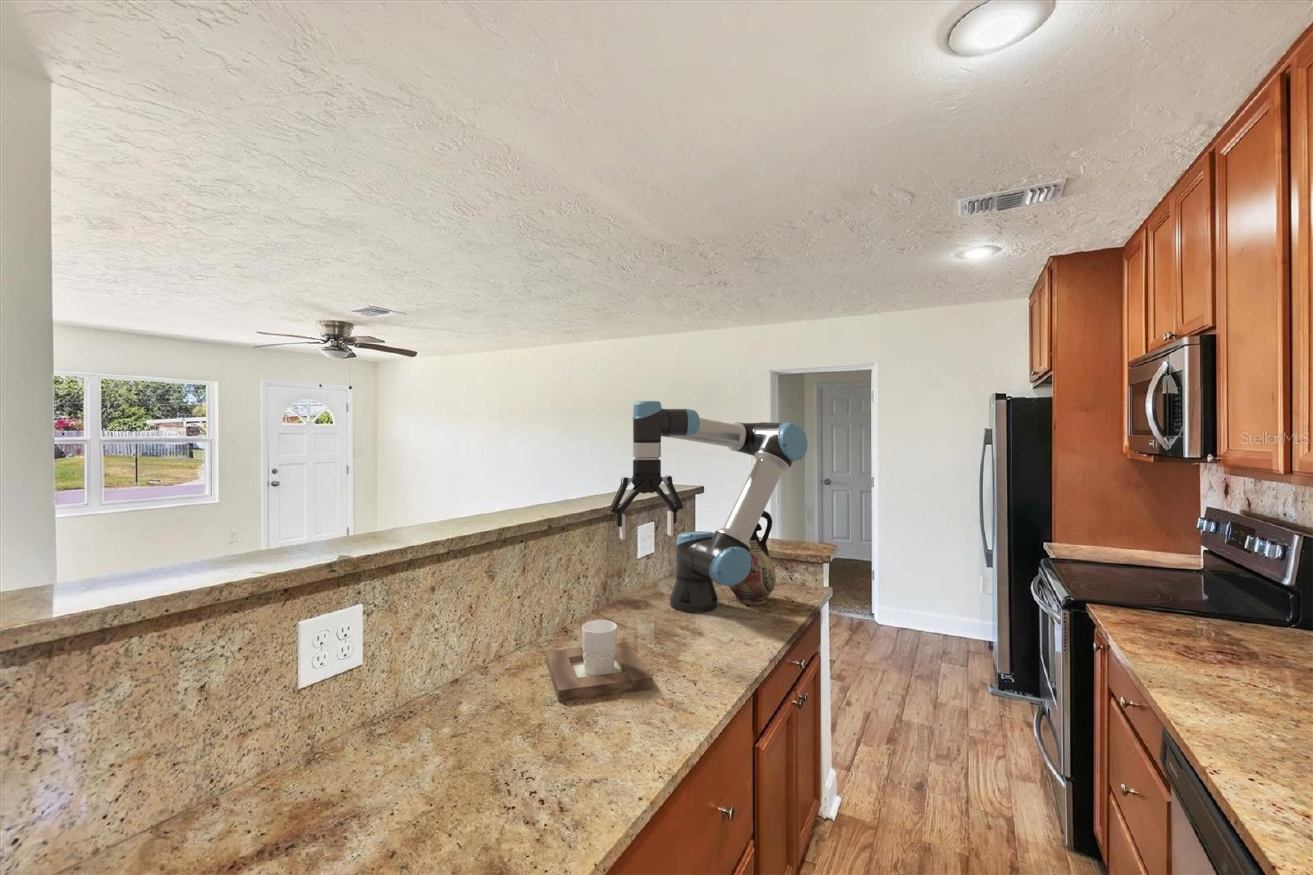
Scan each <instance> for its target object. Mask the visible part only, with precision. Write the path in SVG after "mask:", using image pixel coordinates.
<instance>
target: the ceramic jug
mask: <svg viewBox="0 0 1313 875" xmlns="http://www.w3.org/2000/svg"><path fill="white" fill-rule="evenodd" d="M761 518H762V519H763V518H764V519H765V520H766V527H765V531H764V534H763V536H762V538H761V540H760V538H759V536H758V531H759V532H760V531H763V528H762V525H761V524H760V523H759V522H758V524H757V526H756V528H755V530H754V532H753V534H752V536H751V538H750V540H749V544H750V546H751V550H750V552H749V554H750V557H751V561H750V563H751V569H750V572H749V574H748V576H747V577H746V578H745V579H744V580H743V581H742V582H741V583H739V584H737V585H734V586H728V587H729V588H730V590H731V592H732V593H733V595H734V596H735V597H736V598H735V599H736V601H737V602H738V603H739V604H742V605H748V606H759V605H763V604H765V603H767V601H768V600H767V598H768V597H769V596H770V595H771V593H772V592H773V591H774V590H775V586H776V582H777V578H776V577H777V576H776V570H775V566H774V564H773V561H772V559H771V557H770V554H769V549H768V544H767V541H768V539H769V536H770V533H771V530H772V527H773V518H772V516H771V514H770V513H769V512H768V511H766V510H764V511H763V513H762V515H761Z"/></svg>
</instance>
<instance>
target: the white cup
mask: <svg viewBox="0 0 1313 875" xmlns="http://www.w3.org/2000/svg"><path fill="white" fill-rule="evenodd" d="M617 632H618V625H617V624H616V622H614V621H611V620H605V619H597V620H589V621H588V622H585V623H584V624H582V626H581V635H582V636H581V637H582V639H581V640H582V642H581V643H582V644H581V645H582V647H583V660H584V671H585V673H587V674H588V675H591V676H594V675H602V674H610V673H612V672H613V670H614V659H615V650H616V644H617Z"/></svg>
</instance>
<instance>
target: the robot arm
mask: <svg viewBox="0 0 1313 875" xmlns="http://www.w3.org/2000/svg"><path fill="white" fill-rule="evenodd" d="M632 410H633V411H632V440H633V442H632V457H633V458H634V459H633V461H632V477H626V476H621V480H620V485H619V488H618V490H617V491H616V493H615V496H614V498H613V500H612V502H611V503H610V506H609V509H608V510H609V511H610V512H611V513H613V514H615V518H616V519H615V520H616V523H615V524H616V526H617V527H619V539H621V540H622V541H623V540H624V541H625V540H626V514H624V512H625V511H626V510H627V509H628V507H629V506H630V505H631V503H633V501H634V499H635V498H636V496H639V494H648V493H649V494H654V493H656V495H657V496H658V497H659V498H660V499H661V501H663V503H664V504H665V505H666V506H667V508H668V509H669V510H667V511H666V512H667V513H666V517H667V518H666V519H667V520H666V522H667V523H666V529H667V530H666V534H667V536H669V537H674V524H677V513H678V512H679V511H680V510H683V508H684V505H683V502H682V501H681V499H680V496H679V495H678V493H677V492H678V491H677V489H676V488H675V486H674V484H673V477H672V475H667V474H666V475H665V476H662V474H661V473H662V472H661V471H662V460H661V458H662V437H663V438H672V439H678V440H684V441H690V442H694V443H695V442H697V443H702V444H703V443H704V444H709V445H714V446H721V447H726V448H728V449H729V450H730V451H731V452H732V451H733V452H737V453H743V454H746V455H749V456H753V457H755V460H756V461H755V464H754V465H753V467H752V469H751V471H750V473H749V475H748V477H747V479H746V482H745V483H744V485H743V487H742V490H741V491H740V493H739V495H738V497H737V499H736V501H735V503H734V505H733V508H731V511H730V513H729V515H728V517H727V519H726V521H725V524H723V527H722V528H720V529H716V530H715V531H714V533H713V532H712V531H702V530H701V531H699V530H698V531H687V532H681V533H679V534H678V535H677V537H676V544H675V547H676V551H675V552H676V556H675V557H676V558H675V562H676V564H675V581H674V585H673V588H672V589H671V590H672V591H671V593H670V596H669V606H671V608H673V609H675V610H677V611H682V612H686V613H687V612H688V613H707V612H711V611H715V610H717V608H718V607H719V598H718V595H717V594H718V593H717V591H716V588H715V585H714V583H715V584H717V585H723V586H726V587H729V586H734V585H737V584H739V583H741V582H742V581H743V580H744V579H745V578H746V577H747V576H748V574H749V572H750V569H751V563H750V561H751V557H750V554H749V552H750V550H751V546H750V544H749V540H750V538H751V536H752V534H753V532H754V530H755V528H756V526H757V524H758V523H759V521H760V519H761V518H762V517H761V515H762V513H763V511H765V509H766V507H767V505H768V502H769V501H770V499H771V496H772V494H773V492H774V491H775V488H776V487H777V484H778V482H779V480H780V478H781V476H782V474H783V473H786V472H789V471H790V469H791V467H792V465H793V462H798V461H799V460H800V461H801V460H802V459H804V457H805V456H806V454H807V452H808V439H807V434H806V432H805V429H803V427H801V425H800V424H798V423H795V422H788V421H784V422H762V421H761V422H739V421H735V422H733V423H730V422H729V423H728V422H722V421H717V420H712V419H708V418H707V419H706V418H703V417H702V418H701V417H700V415H699V413H698V412H697V411H696V410H695V409H689V408H688V409H687V408H663V407H662V403H661V402H660V401H659V400H637V401H636V402H634V404H633V409H632ZM659 458H660V459H659ZM662 482H663V484H664V485H665V486H666V489H667V491H668V493H669V495H670V497H671V499H672V500H671V499H670V498H669V497H668V496H667V495H666V493H665V492H664V491H663V489H662V488H661V487H660V485H661V483H662ZM631 483H632V486H633V487H632V488H631V490H630V492H629V493H628V494H627V496H626V497H625V498H624V499H623V497H624V495H625V493H626V491H627V488H628V486H630V484H631ZM622 500H623V501H622ZM621 501H622V502H621ZM672 501H673V502H672Z"/></svg>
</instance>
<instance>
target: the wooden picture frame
mask: <svg viewBox="0 0 1313 875" xmlns="http://www.w3.org/2000/svg"><path fill="white" fill-rule="evenodd" d="M545 664H546V667H547V670H548V673H549V677H550V679H551V681H552V682H551V683H552V687H553V689H554V692H555V694H556V695H555V696H556V698H557V701H558V703H563V702H569V701H577V700H583V699H590V698H598V697H604V696H611V695H617V694H626V693H632V692H637V691H638V692H639V691H645V690H646V691H647V690H653V686H654V685H653V678H654V677H653V676H652V675H651V673H650V672H649V671H648V669H647V668H646V666H645V665H644V663H643V662H642V661H641V659H640V658H639V656H637V653H636V652H635V651H634V650H633V648H632V647H631V645H630V644H629V643H628V642H619V643H616V650H615V659H614V670H613V672H612V673H610V674H602V675H594V676H591V675H588V674H587V673H585V671H584V660H583V646H582V647H575V648H567V649H566V648H565V649H558V650H557V649H555V650H550V651H549V650H548V651H545Z"/></svg>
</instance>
